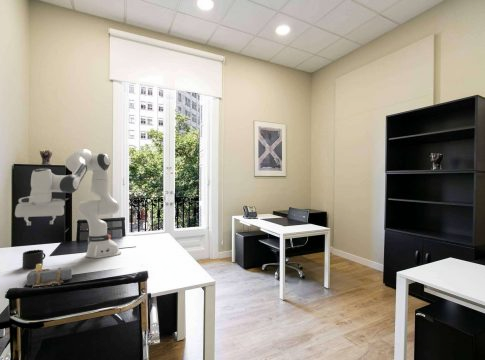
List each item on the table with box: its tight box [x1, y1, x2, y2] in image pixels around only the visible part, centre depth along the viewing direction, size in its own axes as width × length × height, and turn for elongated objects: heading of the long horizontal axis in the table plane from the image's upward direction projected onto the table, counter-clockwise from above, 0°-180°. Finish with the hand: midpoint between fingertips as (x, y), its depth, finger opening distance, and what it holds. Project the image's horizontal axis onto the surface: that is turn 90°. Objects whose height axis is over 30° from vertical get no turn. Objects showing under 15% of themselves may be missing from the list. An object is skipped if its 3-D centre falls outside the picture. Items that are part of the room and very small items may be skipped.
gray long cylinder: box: [26, 267, 73, 286], centre depth 128 cm, size 18×5×5 cm, turn 121°
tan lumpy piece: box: [29, 268, 50, 272], centre depth 132 cm, size 8×7×4 cm
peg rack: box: [32, 267, 64, 287], centre depth 128 cm, size 12×8×6 cm, turn 121°
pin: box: [35, 264, 43, 272], centre depth 132 cm, size 3×3×8 cm
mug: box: [22, 249, 46, 270], centre depth 151 cm, size 9×12×9 cm
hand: (40, 224), depth 132 cm, fingers open, 8 cm apart
